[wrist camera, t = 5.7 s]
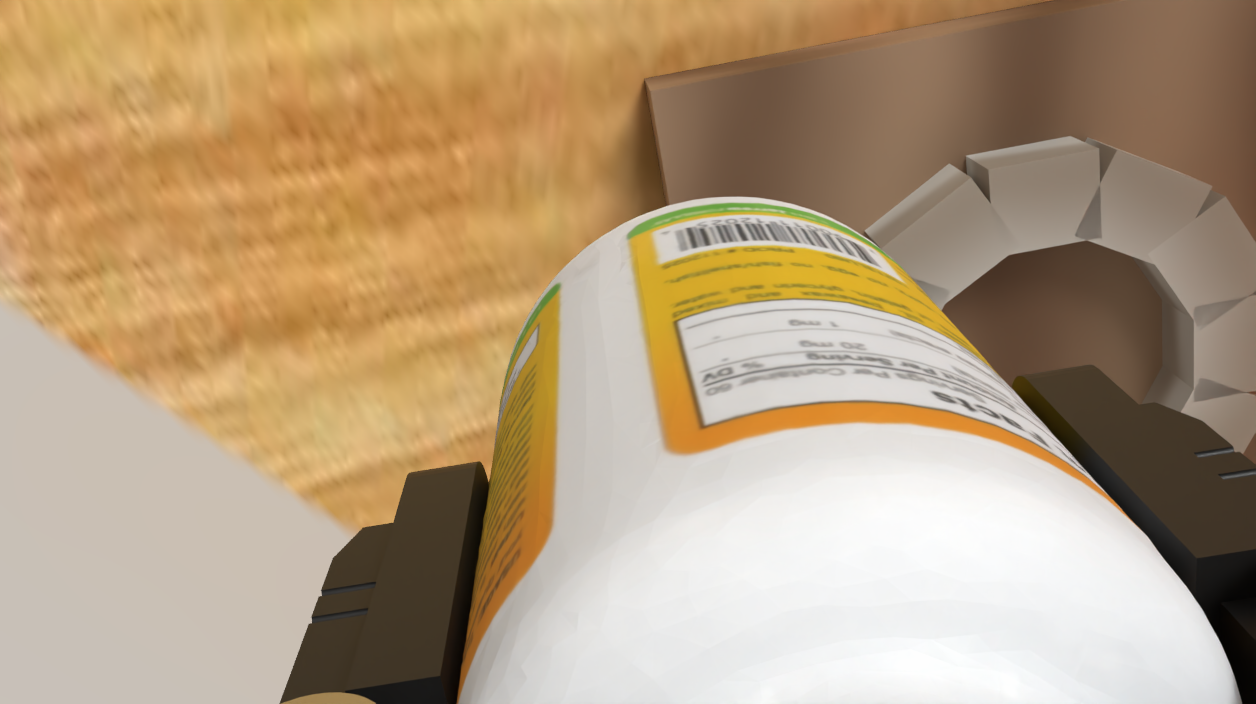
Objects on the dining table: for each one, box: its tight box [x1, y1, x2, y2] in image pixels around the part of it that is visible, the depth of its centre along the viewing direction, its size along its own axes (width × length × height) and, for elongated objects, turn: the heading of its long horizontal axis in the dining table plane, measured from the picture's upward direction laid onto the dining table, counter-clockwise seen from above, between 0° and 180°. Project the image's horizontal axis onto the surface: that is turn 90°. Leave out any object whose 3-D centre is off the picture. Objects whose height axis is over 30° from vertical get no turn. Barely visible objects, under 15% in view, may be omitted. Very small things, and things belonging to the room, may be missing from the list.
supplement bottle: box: [457, 197, 1242, 704], centre depth 10 cm, size 5×5×10 cm
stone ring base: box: [644, 0, 1256, 465], centre depth 28 cm, size 16×16×4 cm
